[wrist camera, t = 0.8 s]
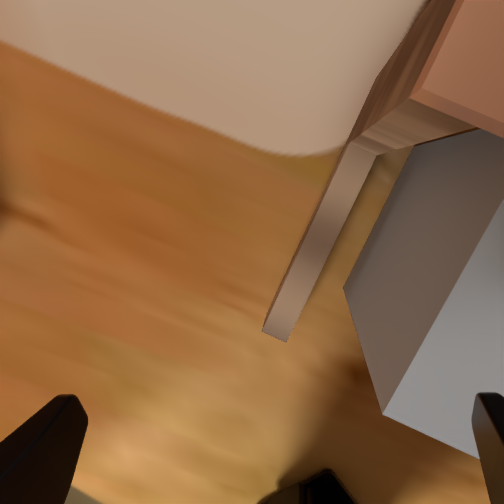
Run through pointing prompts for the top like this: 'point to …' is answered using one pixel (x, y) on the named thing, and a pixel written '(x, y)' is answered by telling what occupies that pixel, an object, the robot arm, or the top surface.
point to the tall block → (436, 288)
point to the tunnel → (405, 124)
